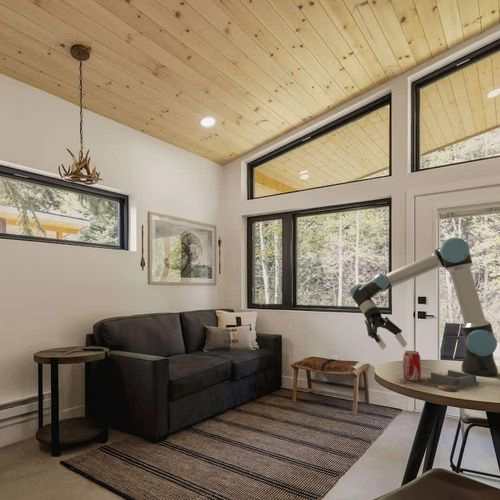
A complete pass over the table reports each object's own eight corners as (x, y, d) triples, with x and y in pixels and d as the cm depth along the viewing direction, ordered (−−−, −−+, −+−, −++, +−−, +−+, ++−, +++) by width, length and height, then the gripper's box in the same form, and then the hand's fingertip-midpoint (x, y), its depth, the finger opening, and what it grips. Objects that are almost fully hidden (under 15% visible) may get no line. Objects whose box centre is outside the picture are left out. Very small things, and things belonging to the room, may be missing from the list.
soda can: (420, 382, 171) (420, 353, 172) (403, 380, 174) (402, 352, 175) (421, 378, 177) (420, 351, 178) (404, 376, 180) (403, 349, 181)
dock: (448, 377, 180) (448, 369, 180) (479, 385, 167) (479, 376, 168) (428, 381, 173) (427, 372, 173) (458, 389, 161) (458, 379, 161)
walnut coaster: (445, 386, 165) (445, 383, 165) (461, 390, 159) (461, 387, 159) (434, 388, 162) (434, 385, 162) (449, 392, 156) (449, 389, 156)
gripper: (384, 315, 206) (408, 349, 192) (347, 316, 195) (370, 353, 180) (392, 305, 202) (418, 340, 188) (355, 306, 190) (379, 343, 176)
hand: (394, 346), depth 184 cm, fingers open, 13 cm apart
